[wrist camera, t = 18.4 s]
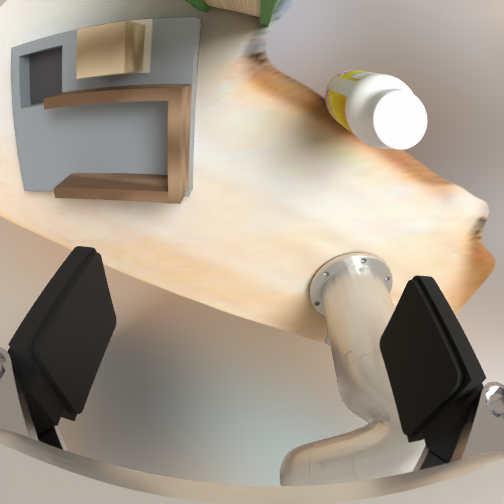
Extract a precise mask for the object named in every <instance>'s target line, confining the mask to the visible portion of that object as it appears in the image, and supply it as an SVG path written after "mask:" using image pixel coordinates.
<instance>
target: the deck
mask: <svg viewBox="0 0 504 504" xmlns="http://www.w3.org/2000/svg"><path fill="white" fill-rule="evenodd" d="M130 22H135V23H139V24H143V25H145V36H144V57H143V70H141V71H134V72H128V73H120V74H111V75H102V76H94V77H87V78H80V79H77V76H76V59H77V30H74V31H69V32H65V33H61V34H57V35H53V36H49V37H45V38H42V39H38V40H35V41H31V42H28V43H25V44H22V45H19V46H16V47H13V48H11V84H12V104H13V116H14V127H15V136H16V143H17V151H18V157H19V164H20V169H21V175H22V180H23V185H24V190H25V191H54V187H56V186H57V185H58V184H59V183H60V182H62V181H63V180H64V179H65V178H67V177H68V176H69V175H70V174H72V173H130V174H158V175H168V101H134V102H113V103H99V104H87V105H77V106H68V107H60V108H52V109H45V110H44V98H47V97H50V96H53V95H56V94H60V93H63V92H67V91H74V90H82V89H91V88H101V87H112V86H127V85H147V84H192V97H191V118H190V148H189V187H188V189H187V191H186V193H185V195H184V196H188V197H189V195H190V193H191V191H192V189H193V149H194V122H195V101H196V84H197V68H198V55H199V42H200V31H201V19H200V18H198V17H174V18H157V19H153V18H151V19H140V20H131V21H130Z"/></svg>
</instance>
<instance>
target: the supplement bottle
mask: <svg viewBox="0 0 504 504" xmlns="http://www.w3.org/2000/svg"><path fill="white" fill-rule="evenodd" d="M325 100H326V105H327V108H328V111H329V112H330V114H331V115H332V117H333V118H334V119H335V120H336V121H337V122H338V123H340V124H341V125H342V126H343V127H345V128H346V129H347V130H348V131H350V132H351V133H352V134H353V135H355V136H356V137H357V138H358V139H359V140H361V141H362V142H364V143H365V144H367V145H369V146H371V147H374V148H379V149H389V148H393V149H398V150H403V149H408V148H410V147H412V146H414V145H415V144H416V143H418V142H419V141H420V139H421V138H422V137H423V135H424V133H425V130H426V127H427V114H426V111H425V108H424V106H423V104H422V103H421V101H420V100H419V99H418V98H417V97H416V96H415V95H414V94H413V93H412V91H411V90H410V89H409V87H408V86H407V85H405V83H403V82H402V81H401V80H399V79H397V78H395V77H393V76H389V75H385V74H379V73H372V72H365V71H358V70H349V71H345V72H342V73H340V74H338V75H337V76H335V77H334V78H333V79H332V80H331V82H330V83H329V85H328V87H327V90H326V95H325Z"/></svg>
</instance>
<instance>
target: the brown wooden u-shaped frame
mask: <svg viewBox="0 0 504 504" xmlns="http://www.w3.org/2000/svg"><path fill="white" fill-rule="evenodd" d="M191 97H192V84H147V85H127V86H112V87H101V88H91V89H82V90H74V91H67V92H63V93H60V94H56V95H53V96H50V97H47V98H44V110H45V109H52V108H60V107H68V106H77V105H87V104H99V103H113V102H134V101H168V175H158V174H130V173H72V174H70V175H69V176H68V177H67V178H65V179H64V180H63V181H62V182H60V183H59V184H58V185H57V186H56V187H54V193H55V198H79V199H105V200H126V201H145V202H162V203H177V204H180V203H181V201H182V199H183V197H184V195H185V193H186V191H187V189H188V187H189V148H190V118H191Z"/></svg>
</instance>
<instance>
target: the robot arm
mask: <svg viewBox="0 0 504 504" xmlns="http://www.w3.org/2000/svg"><path fill="white" fill-rule="evenodd" d="M391 288H392V274H391V272H390V269H389V268H388V266H387V264H386V263H385V262H384V261H383V260H382V259H381V258H379V257H377V256H376V255H373V254H370V253H364V252H353V253H348V254H344V255H341V256H338V257H336V258H334V259H332V260H330V261H329V262H327V263H326V264H325V265H324V266H322V267H321V268H320V269H319V270H318V272H317V273H316V274H315V276H314V277H313V279H312V282H311V285H310V299H311V303H312V305H313V307H314V309H315V310H316V311H317V312H318V313H319V314H321V315H322V316H324V317H325V319H326V324H327V329H328V333H327V335H326V338H325V343H326V344H328V345H331V349H332V355H333V360H334V366H335V372H336V377H337V383H338V388H339V393H340V397H341V399H342V401H343V403H344V404H345V405H346V407H347V408H348V409H349V410H350V411H352V412H353V413H354V414H356V415H357V416H359V417H360V418H362V419H364V420H365V421H367V422H368V424H367V425H366V426H364V427H361V428H358V429H356V430H354V431H351V432H348V433H345V434H341V435H338V436H334V437H331V438H327V439H323V440H319V441H316V442H312V443H308V444H304V445H301V446H299V447H297V448H295V449H293V450H292V451H290V452H289V453H288V454H287V455H286V456H285V458H284V460H283V462H282V464H281V468H280V484H281V486H245V485H230V484H229V485H228V484H218V483H208V482H199V481H191V480H184V479H177V478H170V477H165V476H159V475H154V474H149V473H144V472H139V471H135V470H131V469H127V468H122V467H118V466H114V465H111V464H107V463H103V462H100V461H97V460H93V459H90V458H86V457H83V456H80V455H77V454H74V453H71V452H69V451H68V449H67V446H66V444H65V442H64V439H63V437H62V434H61V432H60V429H59V426H58V423H59V420H60V417H63V418H66V419H69V420H72V421H75V418H76V416H77V414H80V413H81V412H82V411H83V409H84V405H85V403H86V400H87V397H88V395H89V392H90V389H91V386H92V384H93V381H94V378H95V376H96V373H97V371H98V368H99V366H100V363H101V360H102V358H103V356H104V353H105V350H106V348H107V345H108V343H109V341H110V338H111V336H112V333H113V331H114V329H115V326H116V315H115V311H114V308H113V304H112V300H111V296H110V292H109V288H108V285H107V280H106V276H105V271H104V267H103V262H102V257H101V255H100V254H99V253H97V252H96V250H95V248H92V247H82V246H77V247H75V248H74V250H73V251H72V252H71V253H70V255H69V256H68V257H67V259H66V260H65V261H64V262H63V264H62V265H61V266H60V268H59V269H58V271H57V272H56V273H55V275H54V276H53V277H52V279H51V280H50V281H49V283H48V284H47V286H46V287H45V289H44V290H43V291H42V293H41V294H40V296H39V297H38V299H37V300H36V302H35V303H34V305H33V306H32V308H31V309H30V311H29V312H28V314H27V315H26V317H25V318H24V320H23V321H22V323H21V325H20V326H19V328H18V329H17V331H16V333H15V334H14V336H13V338H12V339H11V341H10V343H9V346H10V348H9V350H8V352H7V351H6V350H5V349H3V348H1V347H0V504H504V385H502V384H500V383H498V382H490V383H488V384H487V385H485V386H484V387H483V384H482V382H483V381H484V380H485V379H486V376H485V374H484V372H483V370H482V368H481V365H480V363H479V361H478V359H477V357H476V355H475V353H474V351H473V349H472V347H471V345H470V343H469V341H468V339H467V337H466V335H465V333H464V331H463V329H462V327H461V325H460V324H459V322H458V320H457V318H456V316H455V314H454V313H453V311H452V309H451V307H450V305H449V304H448V302H447V300H446V299H445V297H444V295H443V293H442V292H441V290H440V288H439V287H438V285H437V283H436V282H435V280H434V279H433V278H432V277H429V276H415V277H413V279H412V280H409V281H408V283H407V285H406V287H405V289H404V291H403V294H402V296H401V298H400V300H399V302H398V304H397V306H396V308H395V307H394V304H393V302H392V300H391V297H390V295H389V293H390V291H391Z"/></svg>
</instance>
